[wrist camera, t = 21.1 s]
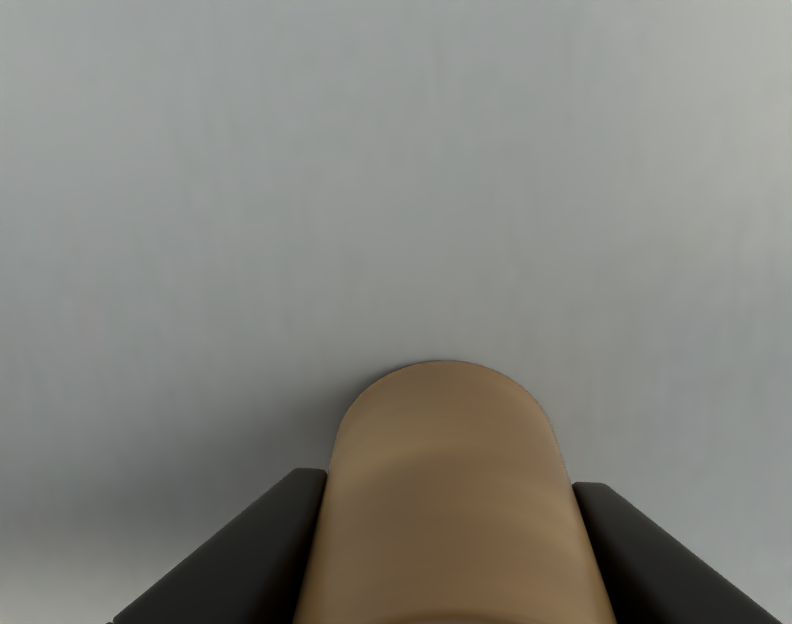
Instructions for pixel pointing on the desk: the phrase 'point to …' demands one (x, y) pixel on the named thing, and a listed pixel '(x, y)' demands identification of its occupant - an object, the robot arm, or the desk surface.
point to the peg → (449, 510)
